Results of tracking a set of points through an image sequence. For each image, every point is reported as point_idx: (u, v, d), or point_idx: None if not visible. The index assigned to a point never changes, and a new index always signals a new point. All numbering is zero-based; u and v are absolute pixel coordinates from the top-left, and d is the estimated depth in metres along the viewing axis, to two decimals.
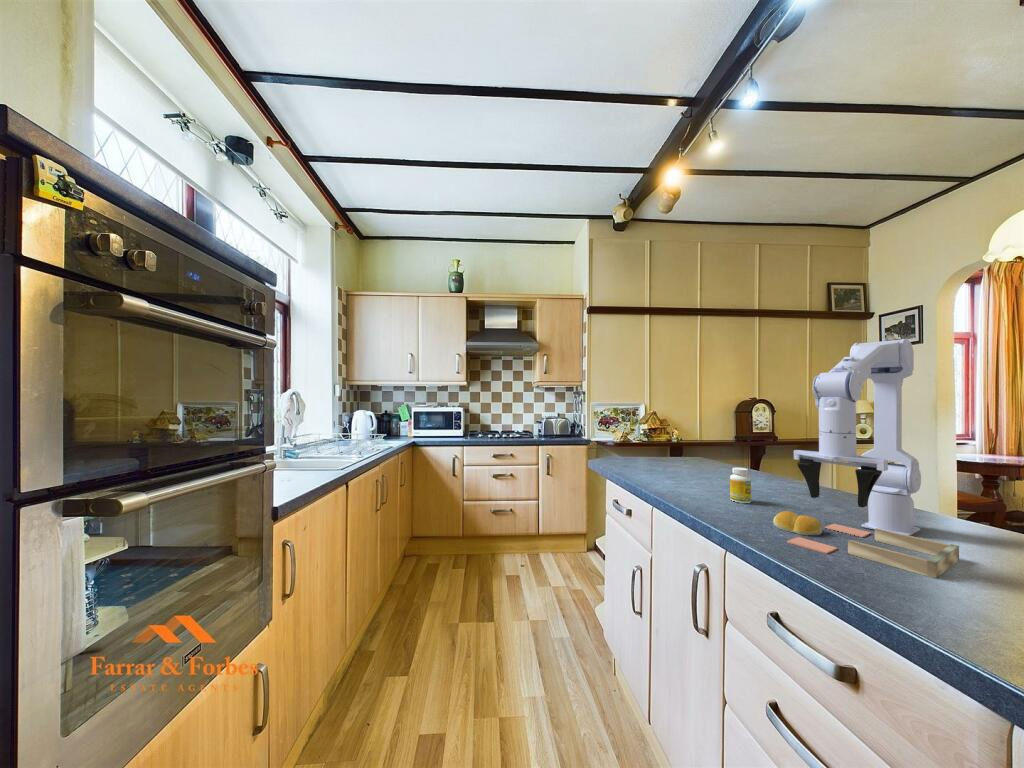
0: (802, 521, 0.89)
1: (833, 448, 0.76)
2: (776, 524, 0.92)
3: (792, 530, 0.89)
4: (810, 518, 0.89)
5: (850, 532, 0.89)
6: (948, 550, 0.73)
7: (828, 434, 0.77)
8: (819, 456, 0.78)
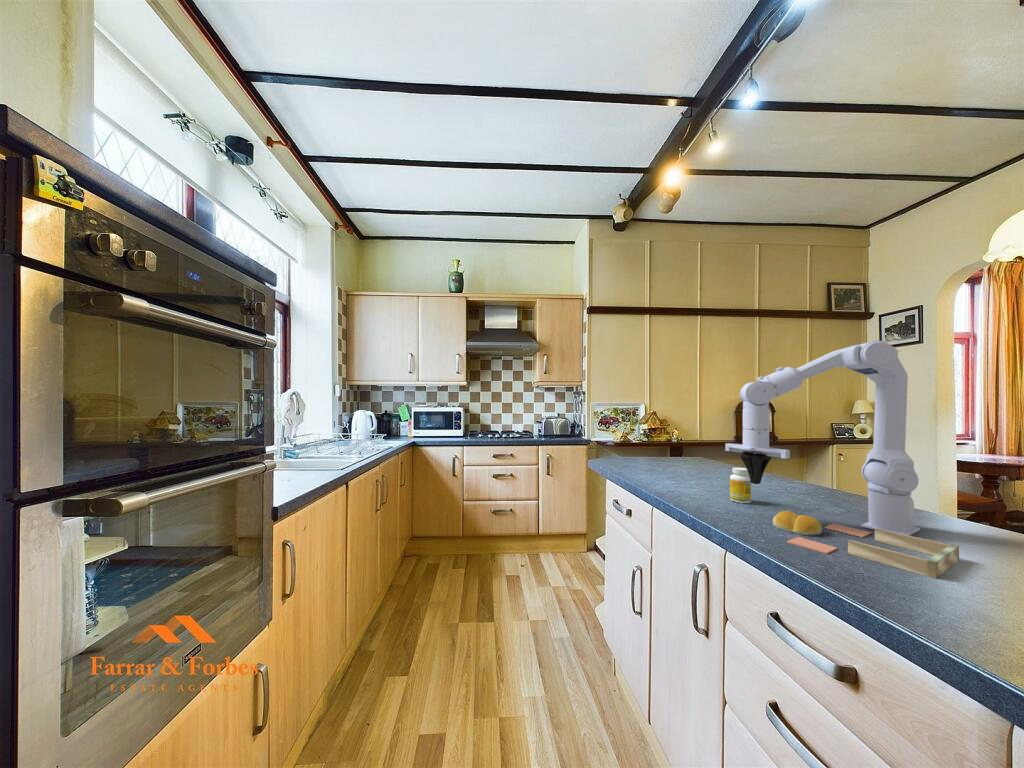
0: (801, 521, 0.89)
1: (751, 441, 0.98)
2: (776, 524, 0.92)
3: (792, 530, 0.89)
4: (810, 518, 0.89)
5: (850, 532, 0.89)
6: (948, 550, 0.73)
7: (748, 430, 0.99)
8: (742, 448, 1.00)
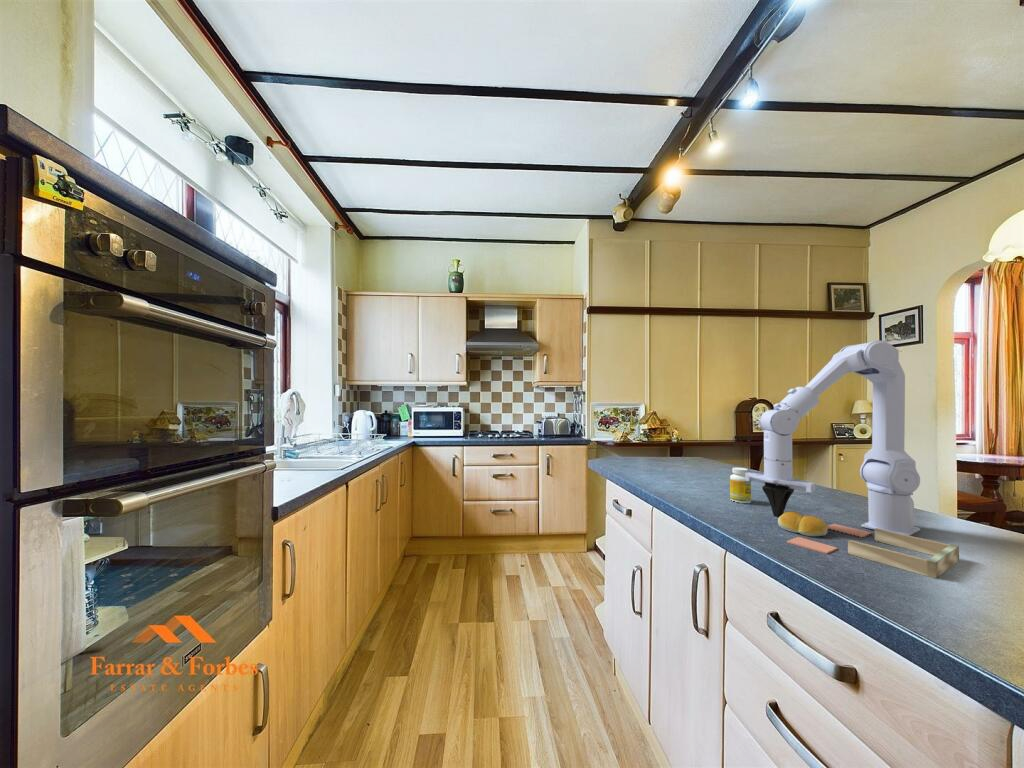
0: (807, 521, 0.88)
1: (773, 473, 0.93)
2: (781, 524, 0.91)
3: (797, 530, 0.88)
4: (815, 518, 0.88)
5: (850, 532, 0.89)
6: (948, 550, 0.73)
7: (770, 461, 0.94)
8: (763, 479, 0.96)
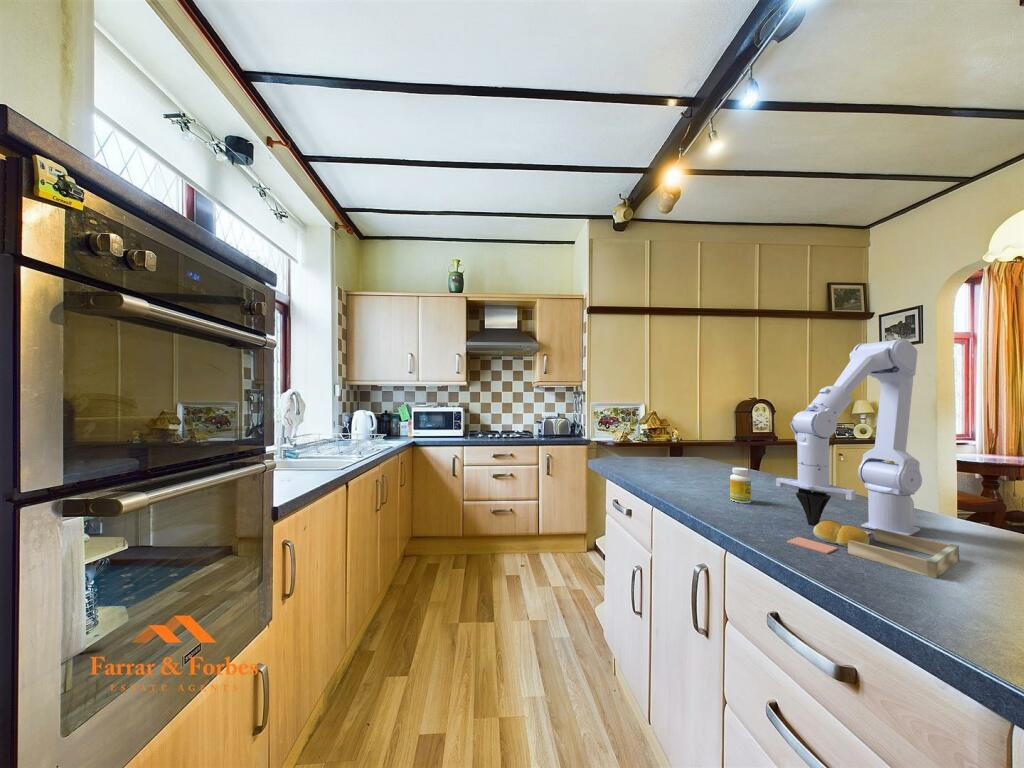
0: (846, 531, 0.81)
1: (809, 479, 0.87)
2: (817, 534, 0.85)
3: (835, 541, 0.82)
4: (855, 528, 0.82)
5: None
6: (948, 550, 0.73)
7: (805, 466, 0.88)
8: (797, 485, 0.89)
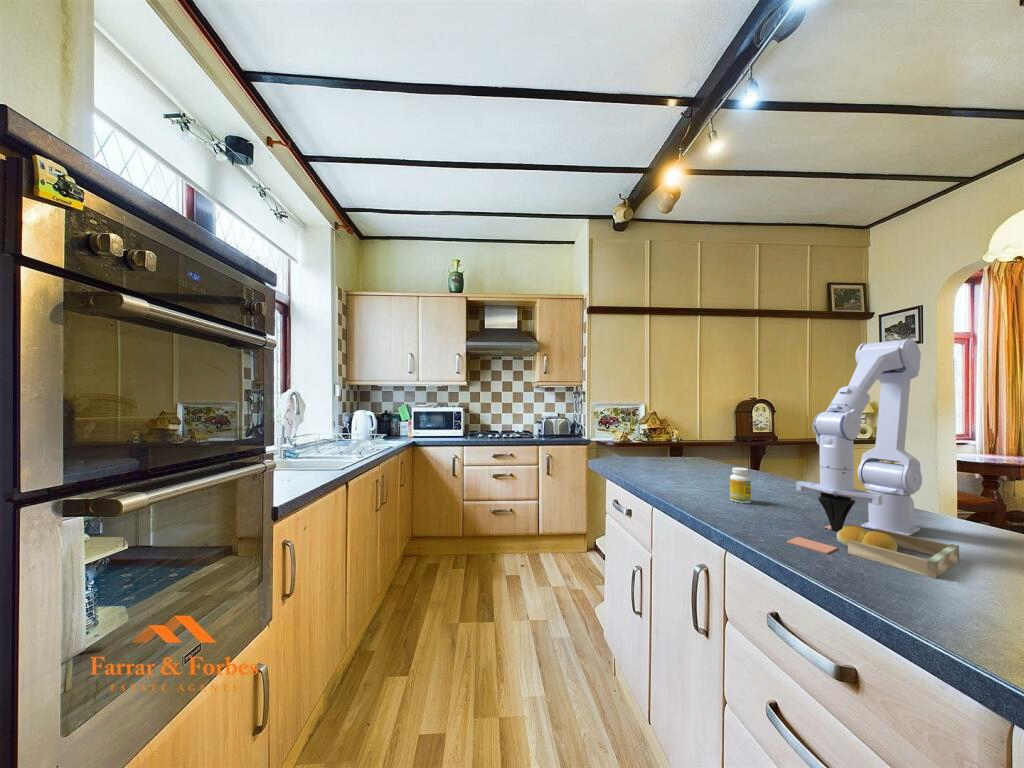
0: (871, 537, 0.78)
1: (833, 483, 0.84)
2: (840, 540, 0.82)
3: None
4: (882, 535, 0.78)
5: None
6: (948, 550, 0.73)
7: (828, 469, 0.84)
8: (820, 489, 0.86)
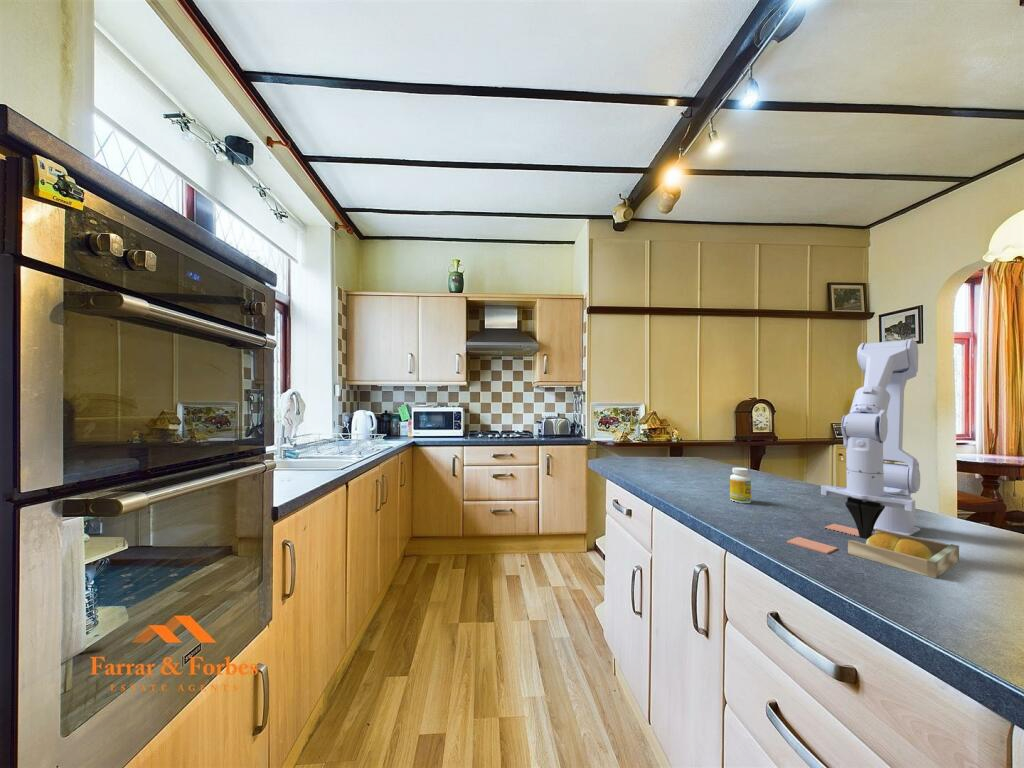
0: (904, 546, 0.74)
1: (861, 487, 0.79)
2: None
3: None
4: (915, 543, 0.74)
5: (850, 532, 0.89)
6: (948, 550, 0.73)
7: (856, 473, 0.80)
8: (847, 494, 0.82)
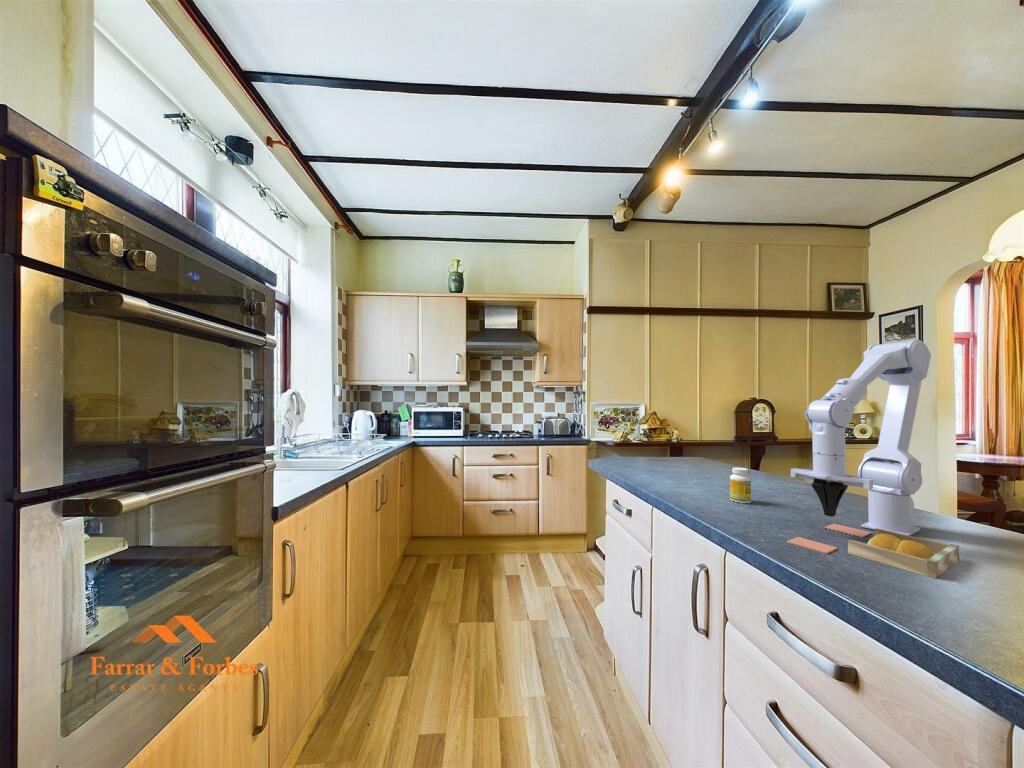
0: (906, 547, 0.74)
1: (825, 468, 0.86)
2: None
3: None
4: (917, 544, 0.74)
5: (850, 532, 0.89)
6: (948, 550, 0.73)
7: (821, 456, 0.87)
8: (813, 475, 0.88)
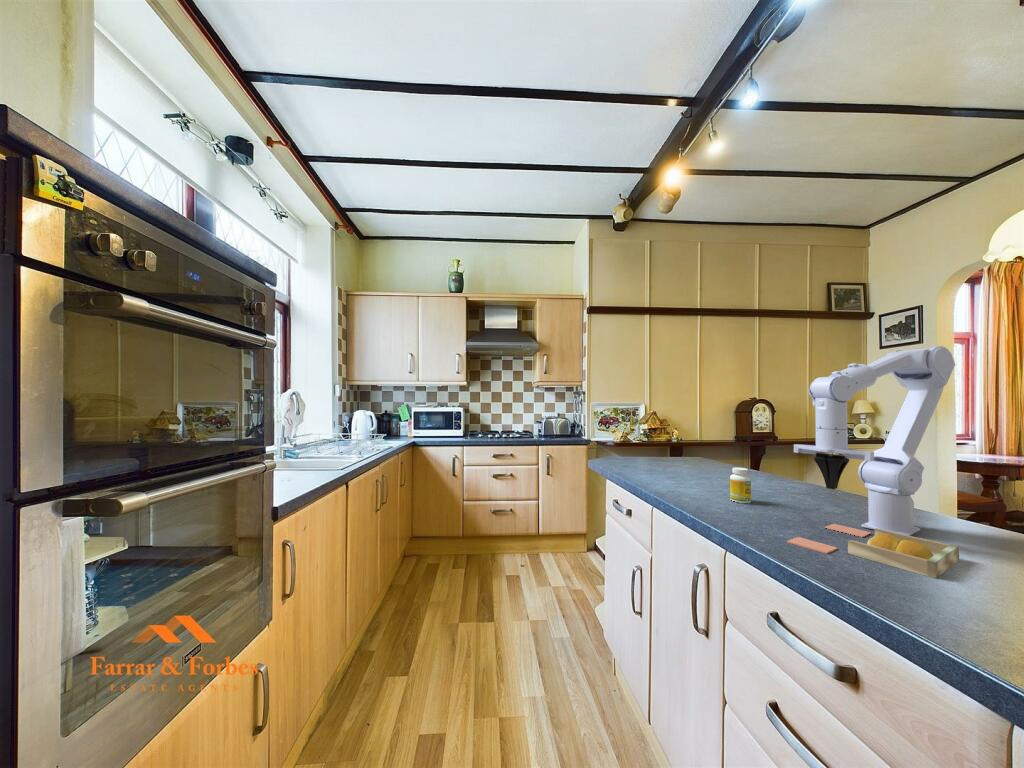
0: (905, 547, 0.74)
1: (828, 442, 0.89)
2: None
3: None
4: (917, 544, 0.74)
5: (850, 532, 0.89)
6: (948, 550, 0.73)
7: (823, 430, 0.89)
8: (815, 449, 0.91)
